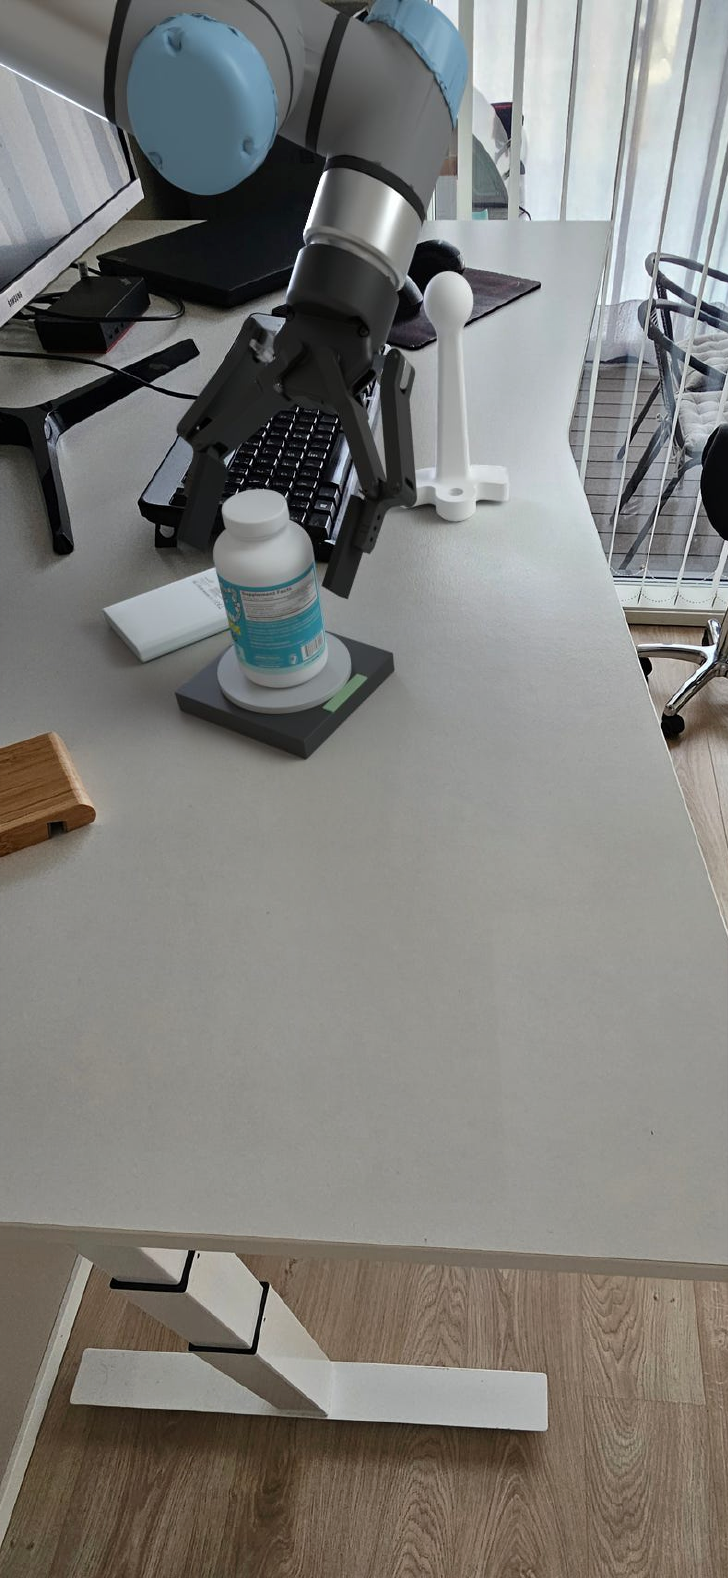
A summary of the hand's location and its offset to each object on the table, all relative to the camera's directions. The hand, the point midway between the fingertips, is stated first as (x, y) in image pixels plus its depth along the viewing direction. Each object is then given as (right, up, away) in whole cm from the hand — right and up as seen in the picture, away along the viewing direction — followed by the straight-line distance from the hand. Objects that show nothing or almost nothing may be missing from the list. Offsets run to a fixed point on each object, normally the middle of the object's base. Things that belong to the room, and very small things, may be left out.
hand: (260, 569), depth 74 cm
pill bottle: (+1, -5, +7) cm, 9 cm away
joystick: (+15, +17, +27) cm, 36 cm away
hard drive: (-10, +2, +16) cm, 19 cm away
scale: (+1, -7, +9) cm, 11 cm away
